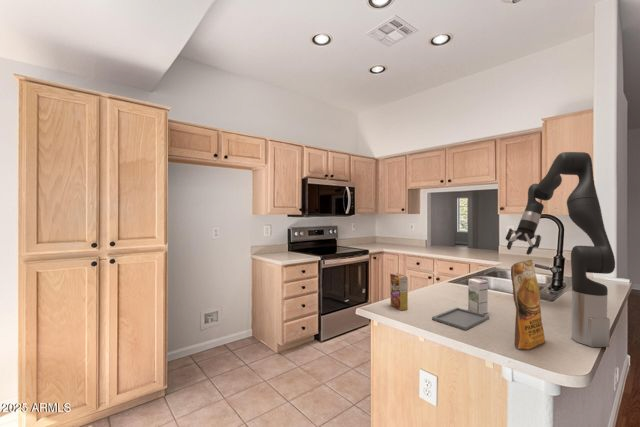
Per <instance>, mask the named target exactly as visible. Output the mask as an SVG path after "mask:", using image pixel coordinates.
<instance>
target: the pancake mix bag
mask: <svg viewBox="0 0 640 427" xmlns="http://www.w3.org/2000/svg"><path fill="white" fill-rule="evenodd" d="M533 262H534V261H533V260H532V259H529V260H528V259H527V260H525V261H518V262H516V263H513V265H512V266H511V268H510V279H511V284H512V297H513V302H514V305H515V325H514V326H515V327H514V347H515V348H516V349H517V350H527V351H528V350H532V349H534V348H536V347H538V346H540V345H542V344H545V342H546V340H545V339H546V338H545V331H544V327H543V322H542V318H543V317H542V309H541V296H540V288H539V283H538V278H537V274H536V271H535V267H534V263H533Z"/></svg>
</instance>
